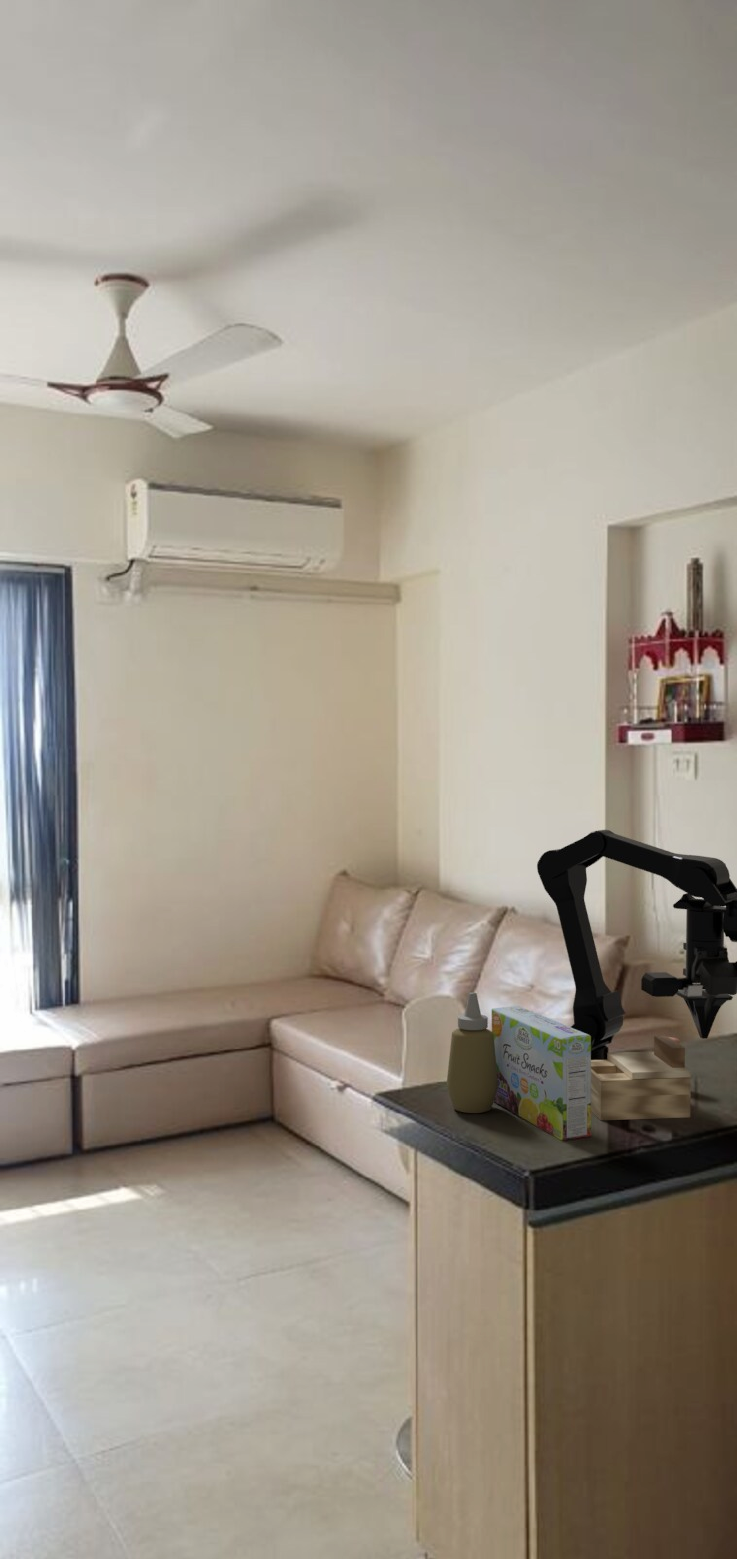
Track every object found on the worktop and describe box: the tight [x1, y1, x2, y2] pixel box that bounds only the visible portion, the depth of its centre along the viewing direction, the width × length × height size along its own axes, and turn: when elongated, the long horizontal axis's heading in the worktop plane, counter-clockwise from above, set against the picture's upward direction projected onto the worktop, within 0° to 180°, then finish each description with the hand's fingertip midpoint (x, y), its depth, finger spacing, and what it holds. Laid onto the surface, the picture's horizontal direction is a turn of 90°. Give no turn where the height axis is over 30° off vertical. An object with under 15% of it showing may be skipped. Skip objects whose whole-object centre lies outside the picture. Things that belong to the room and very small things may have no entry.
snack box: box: [491, 1005, 592, 1142], centre depth 190 cm, size 21×6×15 cm, turn 23°
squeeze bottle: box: [446, 992, 498, 1114], centre depth 195 cm, size 8×8×18 cm
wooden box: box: [591, 1060, 692, 1121], centre depth 196 cm, size 14×12×6 cm
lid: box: [607, 1035, 692, 1079], centre depth 196 cm, size 9×12×4 cm
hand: (703, 1038), depth 197 cm, fingers closed
